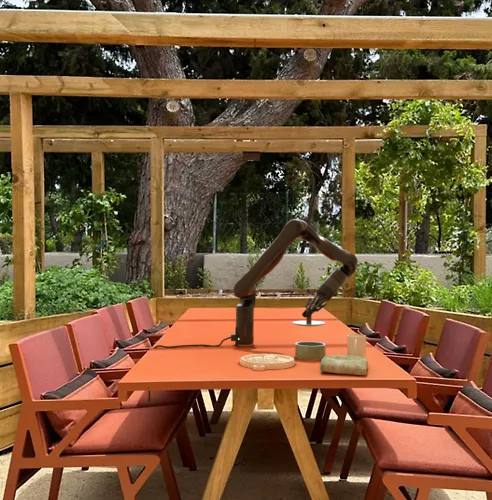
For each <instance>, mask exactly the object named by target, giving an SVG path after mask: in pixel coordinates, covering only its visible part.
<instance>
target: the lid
mask: <svg viewBox="0 0 492 500" xmlns="http://www.w3.org/2000/svg"><path fill="white" fill-rule="evenodd" d="M310 308H311V307H305V310H306V313H307V312H308V311H309V309H310ZM312 315H313V314H312ZM312 315H311V316H310V317H309V318H307V317H305V320H296V321H295V320H294V321H292V325H296V326H300V327H320V326H324V325H326V322H325V321H319V320H313V319H312V317H313V316H312Z"/></svg>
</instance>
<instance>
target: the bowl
mask: <svg viewBox="0 0 492 500" xmlns="http://www.w3.org/2000/svg"><path fill="white" fill-rule="evenodd" d="M326 350H327V349H326V343H324V342H321V341H297V342H295V343H294V358H296V359H299V360H309V361H315V360H316V361H318V360H322V359H323V358H324V356H327V355H326V352H327V351H326Z"/></svg>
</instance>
